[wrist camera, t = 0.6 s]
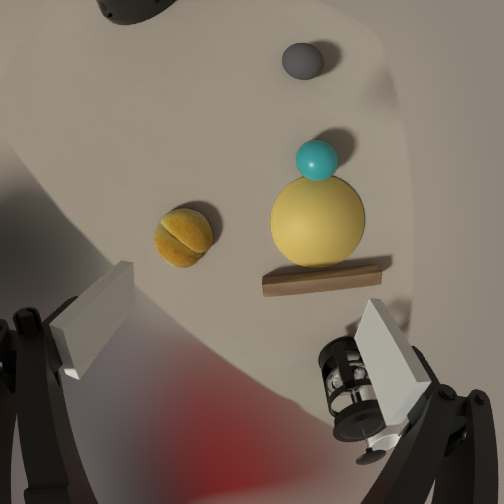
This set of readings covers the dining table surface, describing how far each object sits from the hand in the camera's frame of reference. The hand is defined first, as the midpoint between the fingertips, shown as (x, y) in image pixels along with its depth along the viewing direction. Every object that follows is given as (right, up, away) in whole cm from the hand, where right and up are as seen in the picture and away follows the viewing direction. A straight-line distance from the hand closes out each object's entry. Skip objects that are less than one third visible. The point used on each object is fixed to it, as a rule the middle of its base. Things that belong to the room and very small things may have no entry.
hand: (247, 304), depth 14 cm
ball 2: (+9, +15, +19) cm, 25 cm away
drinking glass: (+25, -27, +35) cm, 51 cm away
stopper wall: (+11, -1, +27) cm, 29 cm away
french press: (+17, -16, +32) cm, 40 cm away
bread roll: (-10, +5, +27) cm, 29 cm away
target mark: (+10, +7, +25) cm, 27 cm away
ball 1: (+7, +28, +15) cm, 32 cm away
